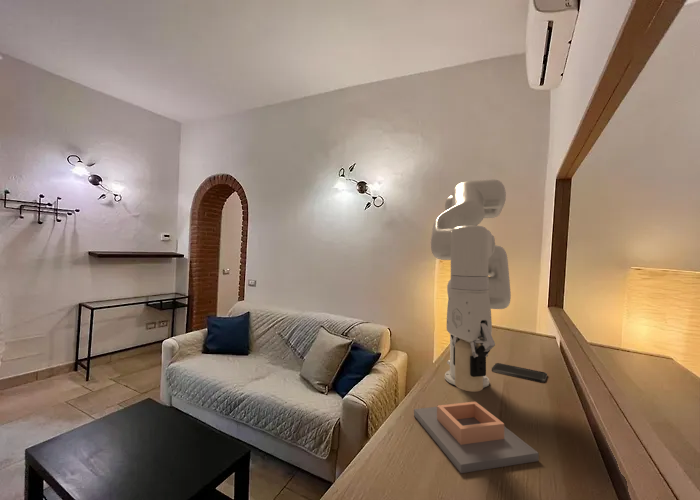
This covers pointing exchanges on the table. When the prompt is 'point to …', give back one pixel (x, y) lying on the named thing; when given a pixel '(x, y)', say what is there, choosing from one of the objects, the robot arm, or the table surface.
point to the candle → (465, 368)
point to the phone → (520, 372)
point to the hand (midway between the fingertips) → (468, 369)
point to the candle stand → (474, 437)
